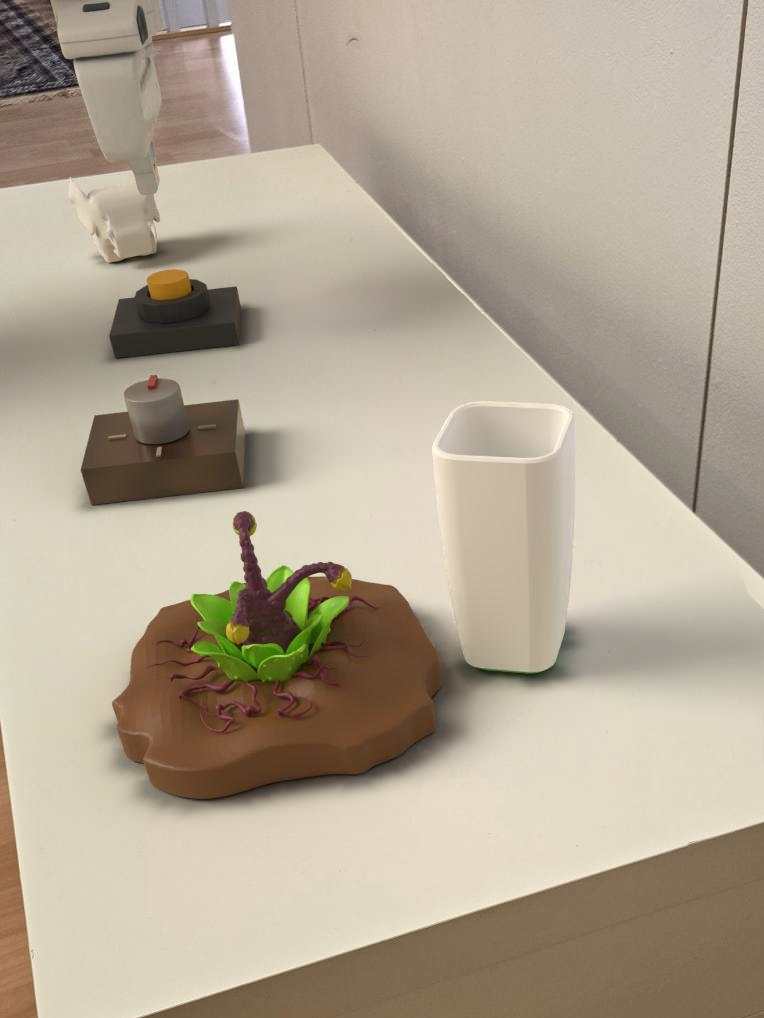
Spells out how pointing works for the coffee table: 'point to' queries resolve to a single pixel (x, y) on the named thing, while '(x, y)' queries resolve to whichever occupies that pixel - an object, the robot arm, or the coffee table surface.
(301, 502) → the coffee table surface
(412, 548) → the coffee table surface
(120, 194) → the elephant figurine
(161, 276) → the button
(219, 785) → the plant
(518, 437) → the cup
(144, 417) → the dial
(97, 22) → the robot arm
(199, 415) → the dial panel
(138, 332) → the button housing
